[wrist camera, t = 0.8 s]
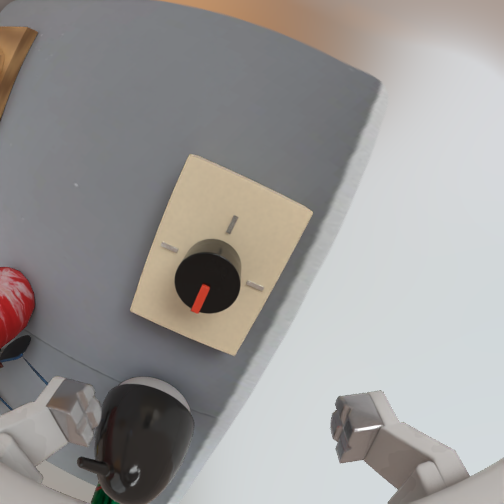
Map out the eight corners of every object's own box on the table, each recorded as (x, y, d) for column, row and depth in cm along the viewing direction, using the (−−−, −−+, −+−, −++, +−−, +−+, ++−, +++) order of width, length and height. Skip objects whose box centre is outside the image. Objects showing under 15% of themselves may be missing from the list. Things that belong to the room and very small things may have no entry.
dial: (197, 228, 22) (187, 242, 18) (251, 253, 22) (252, 271, 19) (176, 278, 23) (164, 299, 19) (227, 301, 23) (224, 325, 20)
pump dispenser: (158, 348, 28) (110, 468, 14) (215, 409, 31) (204, 522, 16) (99, 376, 30) (47, 471, 15) (153, 429, 32) (128, 523, 18)
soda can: (141, 470, 36) (126, 526, 25) (116, 467, 36) (99, 519, 25) (129, 455, 35) (110, 514, 23) (103, 451, 35) (82, 506, 23)
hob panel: (196, 154, 23) (189, 153, 20) (305, 206, 24) (314, 212, 21) (140, 296, 26) (128, 312, 23) (235, 338, 28) (234, 357, 25)
